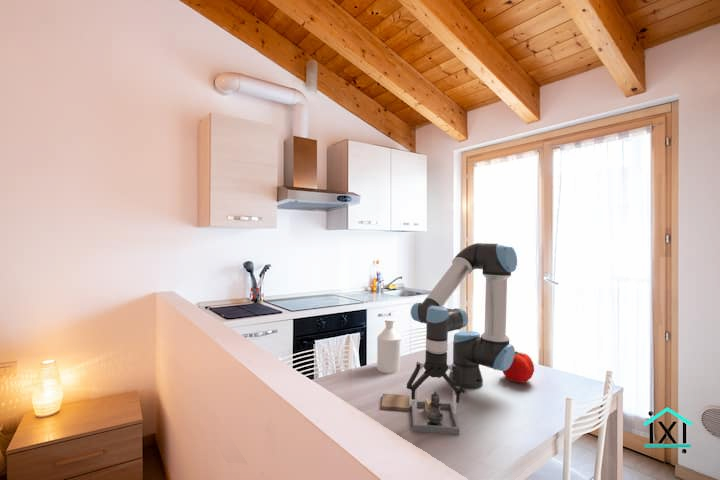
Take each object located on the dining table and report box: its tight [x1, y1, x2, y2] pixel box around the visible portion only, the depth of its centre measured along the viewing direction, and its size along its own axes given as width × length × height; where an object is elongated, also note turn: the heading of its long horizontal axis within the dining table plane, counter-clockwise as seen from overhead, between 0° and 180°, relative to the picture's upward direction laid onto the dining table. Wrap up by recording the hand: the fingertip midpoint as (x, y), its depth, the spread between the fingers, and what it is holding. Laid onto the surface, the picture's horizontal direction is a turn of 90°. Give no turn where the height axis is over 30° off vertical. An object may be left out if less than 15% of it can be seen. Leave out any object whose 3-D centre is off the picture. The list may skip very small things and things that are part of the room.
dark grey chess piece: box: [426, 391, 444, 426], centre depth 127 cm, size 6×6×12 cm
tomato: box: [502, 351, 535, 384], centre depth 167 cm, size 16×14×14 cm
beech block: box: [424, 397, 441, 413], centre depth 136 cm, size 4×4×4 cm
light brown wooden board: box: [381, 393, 411, 412], centre depth 142 cm, size 11×11×1 cm
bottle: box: [376, 318, 402, 374], centre depth 179 cm, size 12×12×25 cm
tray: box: [411, 399, 461, 435], centre depth 131 cm, size 16×19×2 cm
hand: (434, 410), depth 127 cm, fingers open, 13 cm apart
